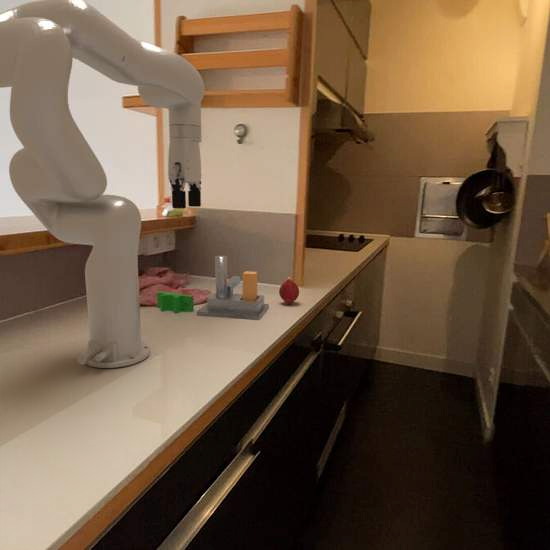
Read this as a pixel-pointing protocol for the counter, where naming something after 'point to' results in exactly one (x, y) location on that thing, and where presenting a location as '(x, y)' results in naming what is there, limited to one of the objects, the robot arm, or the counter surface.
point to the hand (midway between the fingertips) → (187, 207)
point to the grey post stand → (230, 297)
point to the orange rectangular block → (250, 286)
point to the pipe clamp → (175, 302)
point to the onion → (289, 291)
